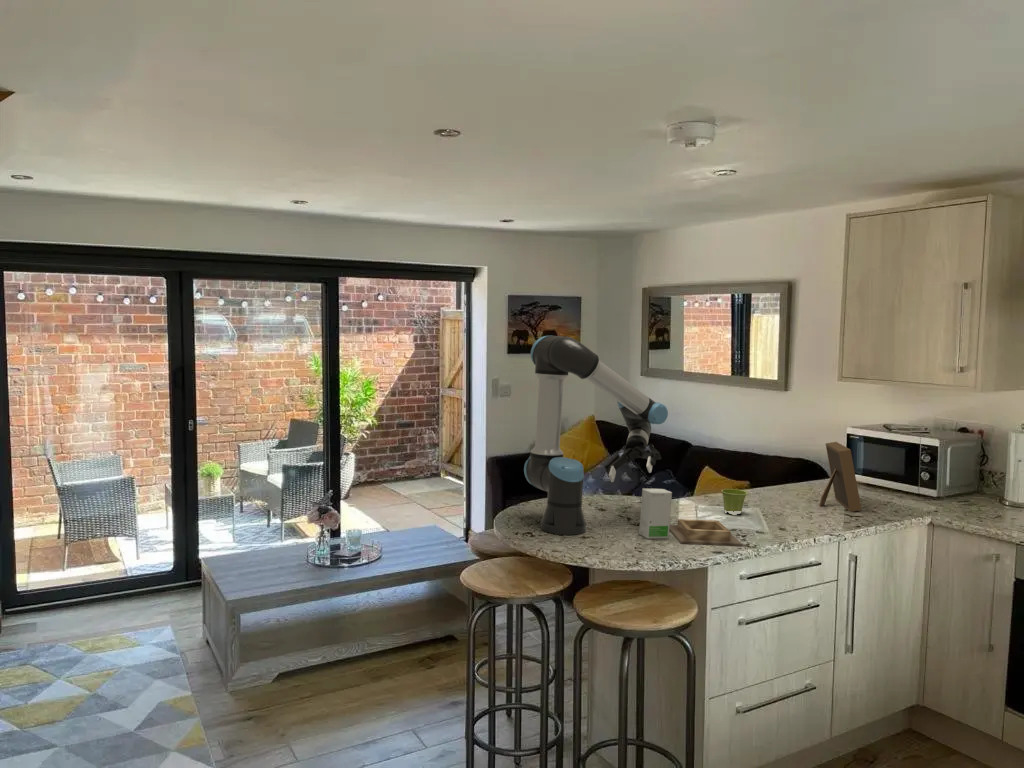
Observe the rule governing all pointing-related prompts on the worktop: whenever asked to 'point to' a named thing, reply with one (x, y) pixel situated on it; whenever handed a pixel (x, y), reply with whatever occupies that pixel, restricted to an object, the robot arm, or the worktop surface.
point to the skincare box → (655, 513)
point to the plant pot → (733, 499)
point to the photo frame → (842, 477)
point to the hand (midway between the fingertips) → (629, 474)
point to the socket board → (703, 533)
